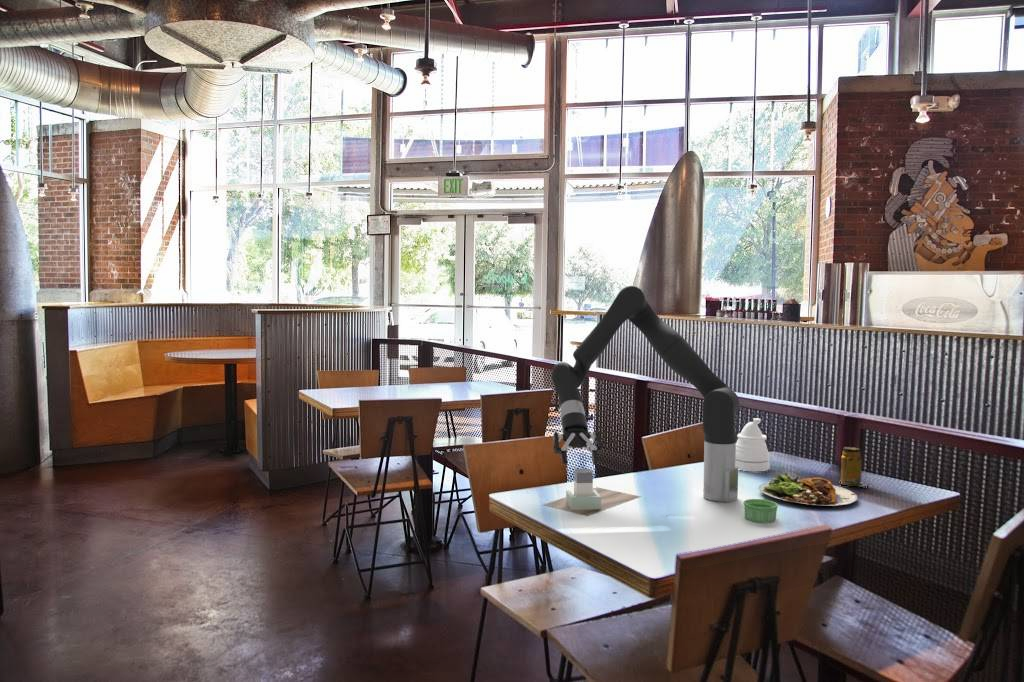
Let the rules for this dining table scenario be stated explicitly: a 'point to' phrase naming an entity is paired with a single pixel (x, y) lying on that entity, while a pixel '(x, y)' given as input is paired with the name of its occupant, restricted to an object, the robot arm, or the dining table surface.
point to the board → (607, 501)
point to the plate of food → (807, 491)
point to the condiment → (851, 466)
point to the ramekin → (760, 510)
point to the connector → (583, 482)
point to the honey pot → (752, 448)
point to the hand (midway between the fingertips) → (580, 463)
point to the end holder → (583, 501)
